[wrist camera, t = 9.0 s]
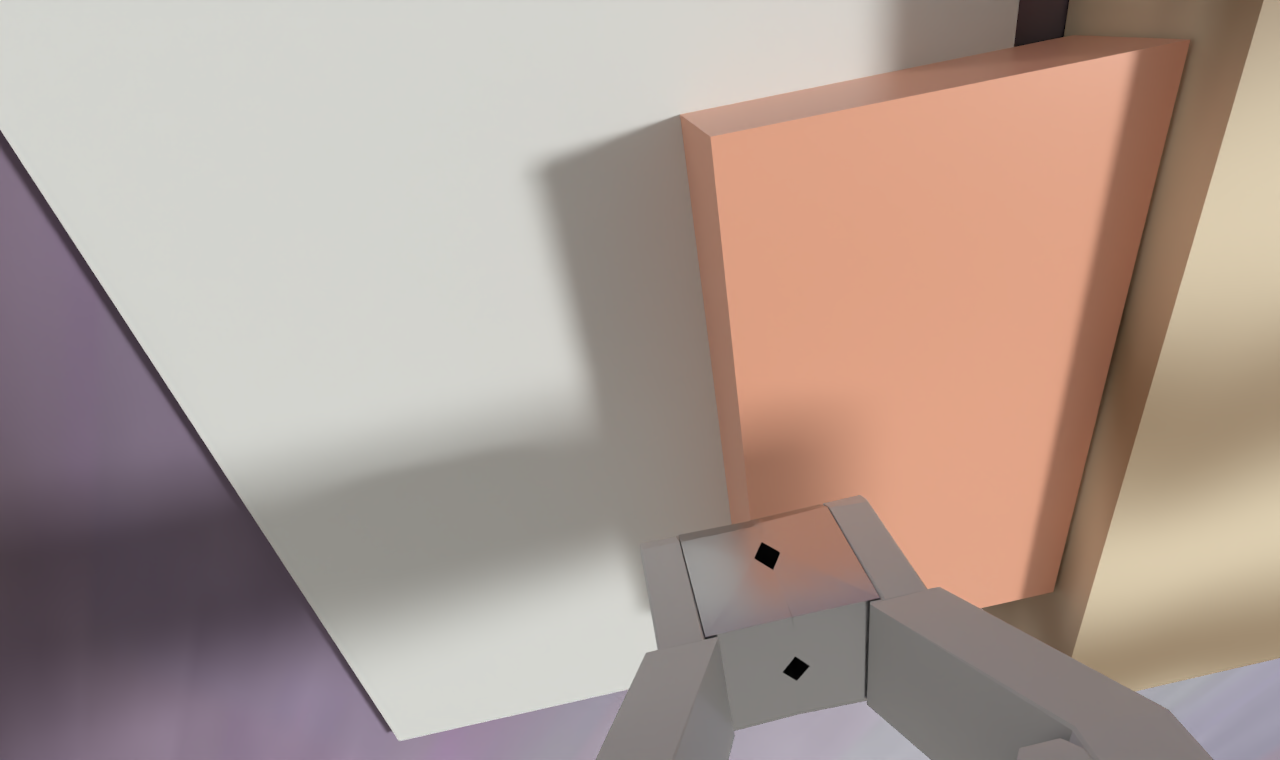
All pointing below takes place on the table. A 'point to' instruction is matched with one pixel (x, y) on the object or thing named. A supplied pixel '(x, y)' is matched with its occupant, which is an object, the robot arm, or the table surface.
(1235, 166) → the plate
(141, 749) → the table surface
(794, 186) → the salmon pink rectangular block
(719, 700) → the robot arm
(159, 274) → the mat
